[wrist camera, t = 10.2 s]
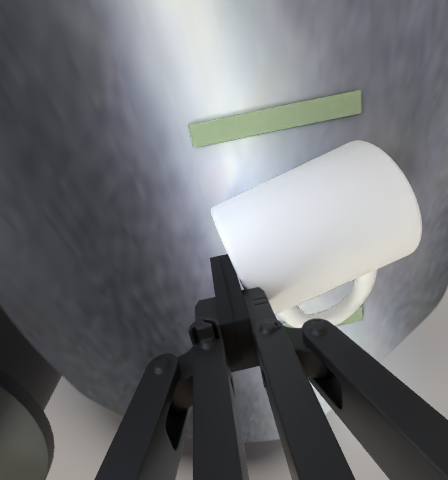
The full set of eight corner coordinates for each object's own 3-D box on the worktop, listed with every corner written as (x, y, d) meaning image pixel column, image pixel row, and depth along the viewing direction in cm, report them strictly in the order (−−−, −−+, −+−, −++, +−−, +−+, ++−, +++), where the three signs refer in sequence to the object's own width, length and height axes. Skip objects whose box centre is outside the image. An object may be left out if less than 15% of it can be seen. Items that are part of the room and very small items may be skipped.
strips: (237, 347, 26) (237, 349, 26) (188, 124, 19) (188, 124, 19) (360, 318, 27) (362, 320, 26) (359, 89, 19) (361, 89, 19)
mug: (206, 196, 21) (215, 232, 13) (330, 137, 20) (411, 140, 13) (263, 315, 25) (294, 391, 18) (367, 269, 25) (442, 327, 17)
